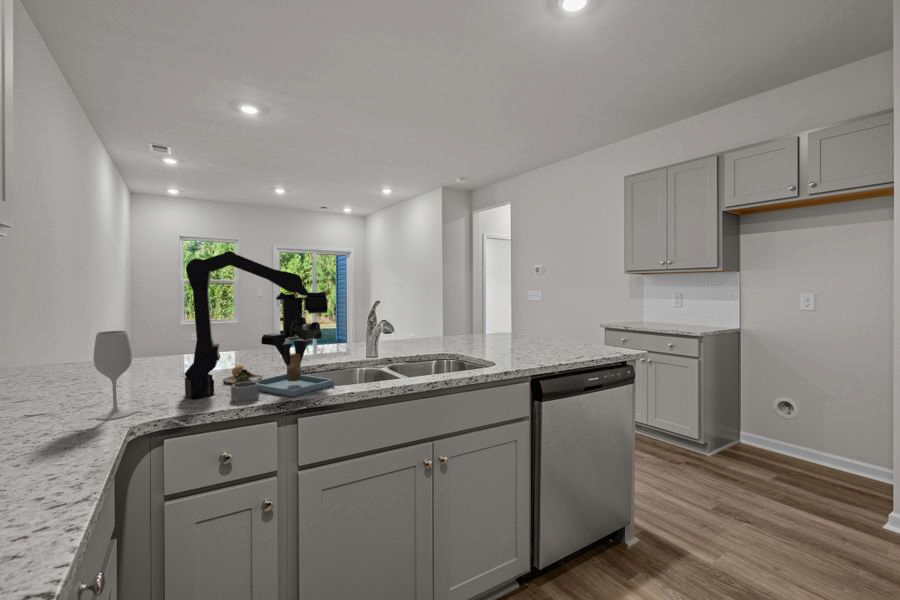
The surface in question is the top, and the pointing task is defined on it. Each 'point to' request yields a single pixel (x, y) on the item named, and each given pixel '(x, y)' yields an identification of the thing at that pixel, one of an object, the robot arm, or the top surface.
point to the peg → (294, 368)
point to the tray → (293, 385)
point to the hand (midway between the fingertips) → (293, 364)
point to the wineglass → (113, 364)
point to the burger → (240, 376)
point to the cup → (245, 391)
